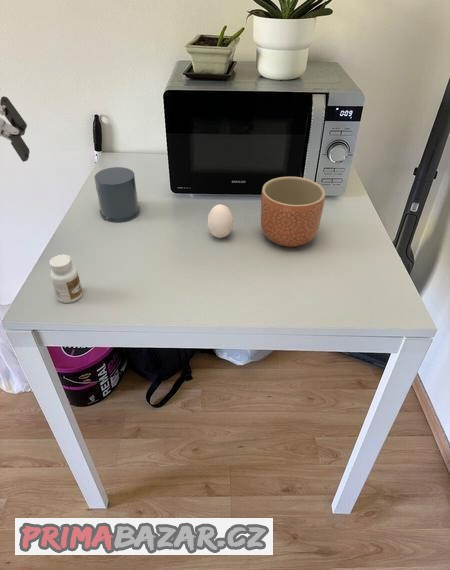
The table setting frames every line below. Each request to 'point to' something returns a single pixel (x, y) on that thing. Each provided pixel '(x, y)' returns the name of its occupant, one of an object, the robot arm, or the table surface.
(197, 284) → the table surface
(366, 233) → the table surface
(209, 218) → the egg
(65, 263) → the pill bottle
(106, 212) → the cup
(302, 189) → the planter
